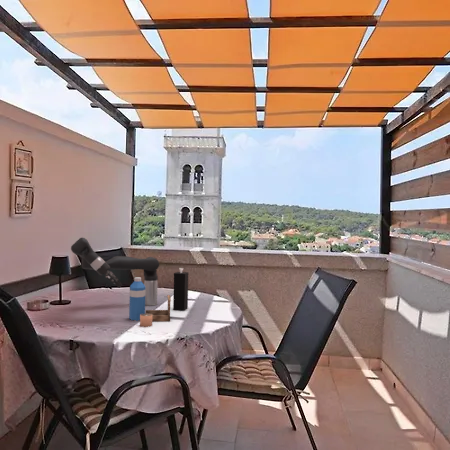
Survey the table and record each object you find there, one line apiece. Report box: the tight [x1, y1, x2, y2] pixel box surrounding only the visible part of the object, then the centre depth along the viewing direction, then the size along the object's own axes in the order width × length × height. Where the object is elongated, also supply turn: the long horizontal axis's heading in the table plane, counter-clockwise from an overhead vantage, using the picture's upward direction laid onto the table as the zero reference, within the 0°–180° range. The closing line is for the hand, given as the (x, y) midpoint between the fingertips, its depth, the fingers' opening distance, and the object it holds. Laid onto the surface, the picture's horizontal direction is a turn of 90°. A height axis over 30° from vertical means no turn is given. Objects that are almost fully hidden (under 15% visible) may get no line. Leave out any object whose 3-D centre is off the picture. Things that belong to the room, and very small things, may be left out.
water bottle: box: [128, 276, 146, 322], centre depth 258 cm, size 9×9×25 cm
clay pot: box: [139, 312, 153, 328], centre depth 244 cm, size 7×7×6 cm
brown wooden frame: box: [145, 294, 172, 323], centre depth 260 cm, size 15×15×13 cm
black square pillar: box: [172, 267, 189, 312], centre depth 286 cm, size 8×8×28 cm
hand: (120, 286), depth 256 cm, fingers open, 3 cm apart
